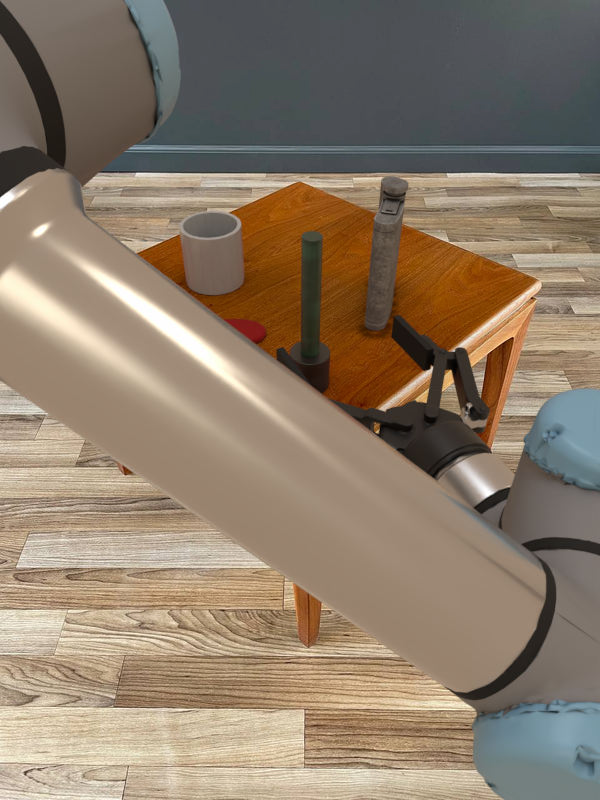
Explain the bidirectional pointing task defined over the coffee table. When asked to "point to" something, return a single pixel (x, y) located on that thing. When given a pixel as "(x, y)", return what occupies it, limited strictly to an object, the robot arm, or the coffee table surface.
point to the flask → (385, 252)
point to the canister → (212, 252)
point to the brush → (311, 316)
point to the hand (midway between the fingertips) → (339, 341)
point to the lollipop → (249, 329)
